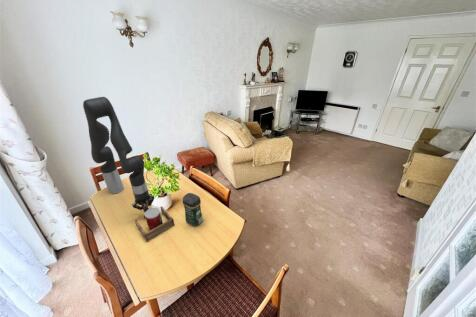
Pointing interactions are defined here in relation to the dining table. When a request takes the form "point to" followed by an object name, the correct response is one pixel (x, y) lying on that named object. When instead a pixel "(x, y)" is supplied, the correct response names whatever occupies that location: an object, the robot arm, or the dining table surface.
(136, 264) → the dining table surface
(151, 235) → the corral
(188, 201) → the coffee jar
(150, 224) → the canned food
